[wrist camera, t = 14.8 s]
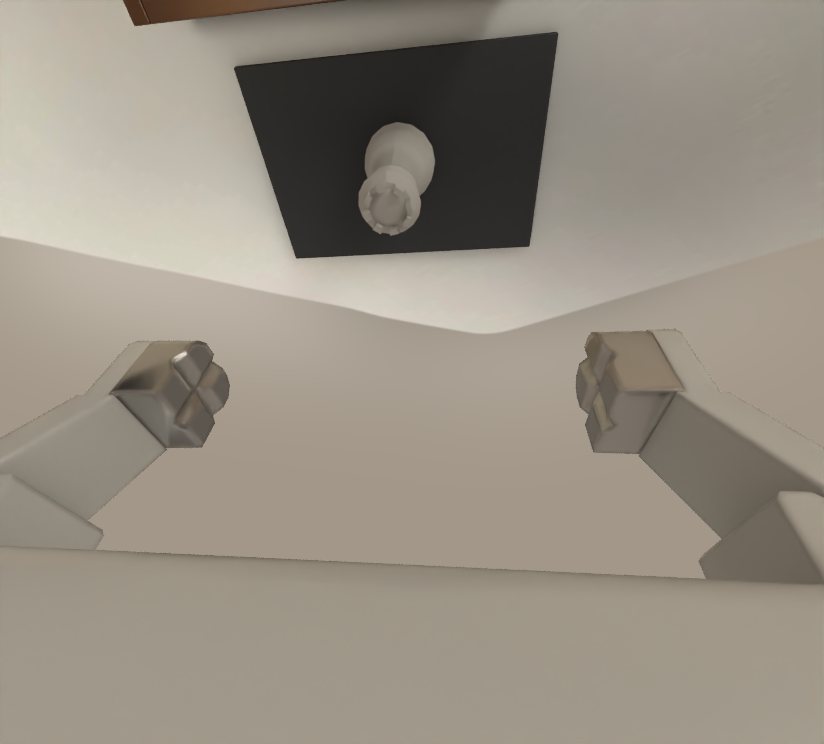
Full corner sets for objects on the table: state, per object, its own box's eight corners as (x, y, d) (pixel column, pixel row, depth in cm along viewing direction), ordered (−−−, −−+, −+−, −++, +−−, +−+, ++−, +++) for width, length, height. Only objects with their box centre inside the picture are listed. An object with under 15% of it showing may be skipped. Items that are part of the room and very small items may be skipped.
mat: (556, 31, 21) (558, 32, 20) (528, 243, 29) (529, 246, 29) (236, 66, 22) (233, 67, 22) (297, 255, 31) (296, 258, 31)
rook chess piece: (361, 122, 24) (335, 165, 18) (434, 117, 23) (430, 160, 18) (371, 197, 27) (351, 254, 21) (435, 194, 26) (433, 251, 21)
